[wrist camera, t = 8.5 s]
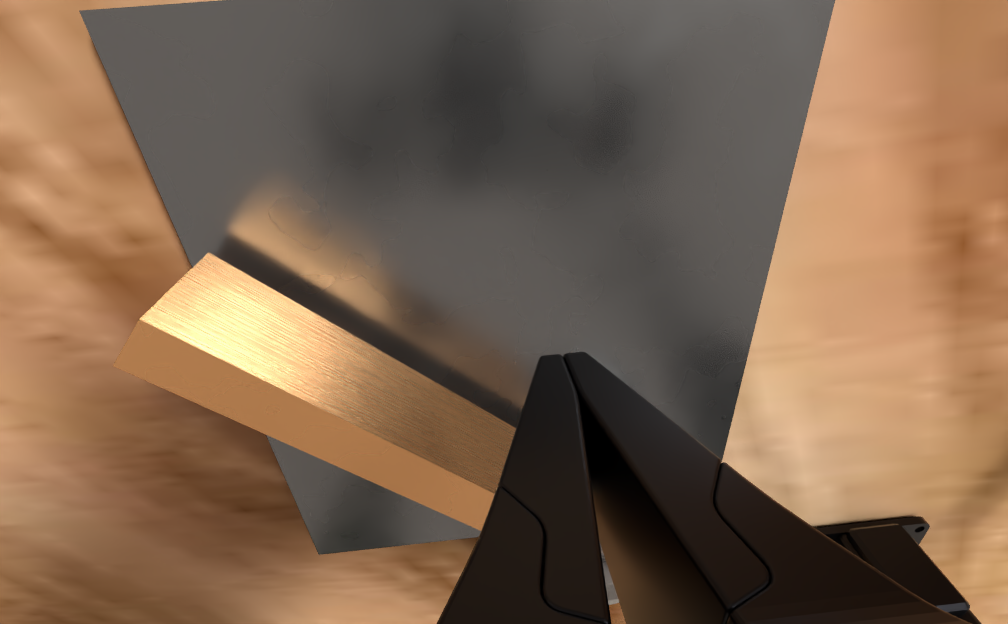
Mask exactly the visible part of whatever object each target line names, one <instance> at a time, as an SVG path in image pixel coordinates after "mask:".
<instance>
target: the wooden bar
mask: <svg viewBox="0 0 1008 624" xmlns="http://www.w3.org/2000/svg"><path fill="white" fill-rule="evenodd" d="M113 366H114V367H116V368H118V369H121V370H123V371H125V372H127V373H129V374H132V375H134V376H136V377H138V378H141V379H143V380H145V381H147V382H150V383H152V384H154V385H156V386H159V387H161V388H163V389H165V390H167V391H170V392H172V393H174V394H176V395H179V396H181V397H183V398H185V399H188V400H190V401H192V402H194V403H196V404H199V405H201V406H203V407H205V408H208V409H210V410H212V411H214V412H217V413H219V414H221V415H223V416H226V417H228V418H230V419H232V420H234V421H237V422H239V423H241V424H243V425H246V426H248V427H250V428H252V429H255V430H257V431H259V432H261V433H263V434H266V435H268V436H270V437H272V438H275V439H277V440H279V441H281V442H284V443H286V444H288V445H290V446H293V447H295V448H297V449H299V450H301V451H304V452H306V453H308V454H310V455H313V456H315V457H317V458H319V459H322V460H324V461H326V462H328V463H330V464H333V465H335V466H337V467H339V468H342V469H344V470H346V471H348V472H351V473H353V474H355V475H357V476H360V477H362V478H364V479H366V480H368V481H371V482H373V483H375V484H377V485H380V486H382V487H384V488H386V489H389V490H391V491H393V492H395V493H397V494H400V495H402V496H404V497H406V498H409V499H411V500H413V501H415V502H418V503H420V504H422V505H424V506H427V507H429V508H431V509H433V510H435V511H438V512H440V513H442V514H444V515H447V516H449V517H451V518H453V519H456V520H458V521H460V522H462V523H465V524H467V525H469V526H471V527H473V528H476V529H478V530H480V531H481V530H482V527H483V524H484V522H485V519H486V516H487V514H488V511H489V508H490V506H491V503H492V499H493V496H494V493H495V490H496V488H497V487H498V482H499V479H500V476H501V473H502V470H503V467H504V464H505V461H506V458H507V455H508V452H509V449H510V445H511V442H512V439H513V436H514V433H515V430H516V428H515V427H513V426H511V425H509V424H508V423H506V422H504V421H503V420H501V419H499V418H497V417H496V416H494V415H492V414H490V413H489V412H487V411H485V410H483V409H482V408H480V407H478V406H476V405H475V404H473V403H471V402H469V401H468V400H466V399H464V398H462V397H461V396H459V395H457V394H455V393H454V392H452V391H450V390H448V389H447V388H445V387H443V386H441V385H440V384H438V383H436V382H434V381H433V380H431V379H429V378H427V377H426V376H424V375H422V374H420V373H419V372H417V371H415V370H413V369H412V368H410V367H408V366H406V365H405V364H403V363H401V362H399V361H398V360H396V359H394V358H392V357H391V356H389V355H387V354H385V353H384V352H382V351H380V350H378V349H377V348H375V347H373V346H371V345H370V344H368V343H366V342H365V341H363V340H361V339H359V338H358V337H356V336H354V335H352V334H351V333H349V332H347V331H345V330H344V329H342V328H340V327H338V326H337V325H335V324H333V323H331V322H330V321H328V320H326V319H324V318H323V317H321V316H319V315H317V314H316V313H314V312H312V311H310V310H309V309H307V308H305V307H303V306H302V305H300V304H298V303H296V302H295V301H293V300H291V299H289V298H288V297H286V296H284V295H282V294H281V293H279V292H277V291H275V290H274V289H272V288H270V287H268V286H267V285H265V284H263V283H261V282H260V281H258V280H256V279H254V278H253V277H251V276H249V275H247V274H246V273H244V272H242V271H240V270H239V269H237V268H235V267H233V266H232V265H230V264H228V263H227V262H225V261H223V260H221V259H220V258H218V257H216V256H214V255H213V254H211V253H209V252H208V253H207V254H206V255H205V256H204V257H203V258H202V259H201V260H200V261H199V262H198V263H197V264H196V265H195V266H194V267H193V268H192V269H191V270H190V271H189V272H188V273H187V274H186V275H185V276H184V277H183V278H182V279H181V280H179V281H178V282H177V283H176V284H175V285H174V286H173V287H172V288H171V289H170V290H169V291H168V292H167V293H166V294H165V295H164V296H163V297H162V298H161V299H160V300H159V301H158V302H157V303H156V304H155V305H154V306H153V307H152V308H150V309H149V310H148V311H147V312H146V313H145V314H144V315H143V316H142V317H141V318H140V319H139V321H138V323H137V324H136V326H135V328H134V330H133V331H132V333H131V335H130V337H129V338H128V340H127V342H126V344H125V345H124V347H123V349H122V351H121V352H120V354H119V356H118V358H117V359H116V361H115V363H114V365H113ZM600 548H601V555H602V562H603V569H604V576H605V583H606V590H607V597H608V604H609V605H610V604H615V603H619V600H618V596H617V593H616V590H615V587H614V584H613V581H612V578H611V575H610V572H609V569H608V566H607V563H606V560H605V557H604V554H603V550H602V547H601V544H600Z"/></svg>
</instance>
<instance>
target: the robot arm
mask: <svg viewBox="0 0 1008 624" xmlns="http://www.w3.org/2000/svg"><path fill="white" fill-rule="evenodd" d="M929 527H930V526H929V524H928V523H927V522H926V521H925V520H924V518H922V517H909V518H900V519H891V520H883V521H874V522H865V523H856V524H847V525H838V526H829V527H821V528H814V527H812V526H811V525H809V524H808V523H806V522H805V521H803V520H802V519H801V518H799V517H798V516H796V515H795V514H793V513H792V512H790V511H789V510H788V509H786V508H785V507H783V506H782V505H780V504H779V503H777V502H776V501H775V500H773V499H772V498H771V497H769V496H768V495H767V494H765V493H764V492H763V491H761V490H760V489H759V488H757V487H756V486H755V485H753V484H752V483H751V482H749V481H748V480H747V479H746V478H744V477H743V476H742V475H740V474H739V473H738V472H737V471H735V470H734V469H733V468H732V467H730V466H729V465H728V464H727V463H724V462H723V463H721V459H720V458H719V457H717V456H716V455H715V454H714V453H712V452H711V451H710V450H709V449H707V448H706V447H705V446H704V445H702V444H701V443H700V442H699V441H697V440H696V439H695V438H694V437H692V436H691V435H690V434H688V433H687V432H686V431H685V430H683V429H682V428H681V427H680V426H678V425H677V424H676V423H675V422H673V421H672V420H671V419H670V418H668V417H667V416H666V415H665V414H663V413H662V412H661V411H660V410H658V409H657V408H656V407H654V406H653V405H652V404H651V403H649V402H648V401H647V400H646V399H644V398H643V397H642V396H641V395H639V394H638V393H637V392H636V391H634V390H633V389H632V388H631V387H629V386H628V385H627V384H626V383H624V382H623V381H622V380H620V379H619V378H618V377H617V376H615V375H614V374H613V373H612V372H610V371H609V370H608V369H607V368H605V367H604V366H603V365H602V364H600V363H599V362H598V361H597V360H595V359H594V358H593V357H592V356H590V355H589V354H588V353H586V352H573V353H565V354H564V355H563V356H562V355H560V354H553V355H543V356H541V357H540V358H539V360H538V363H537V366H536V369H535V372H534V375H533V378H532V381H531V384H530V387H529V390H528V394H527V397H526V400H525V403H524V406H523V409H522V412H521V415H520V418H519V421H518V424H517V427H516V430H515V433H514V436H513V439H512V442H511V445H510V449H509V452H508V455H507V458H506V461H505V464H504V467H503V470H502V473H501V476H500V479H499V482H498V487H497V488H496V490H495V493H494V496H493V499H492V503H491V506H490V508H489V511H488V514H487V516H486V519H485V522H484V524H483V527H482V530H481V532H480V535H479V537H478V539H477V542H476V544H475V546H474V548H473V550H472V553H471V555H470V557H469V559H468V561H467V564H466V566H465V568H464V570H463V572H462V574H461V576H460V578H459V580H458V582H457V584H456V586H455V588H454V590H453V592H452V594H451V596H450V598H449V600H448V602H447V604H446V606H445V608H444V610H443V612H442V614H441V616H440V618H439V620H438V622H437V624H611V618H610V611H609V604H608V597H607V590H606V583H605V576H604V569H603V562H602V555H601V548H600V544H601V547H602V550H603V554H604V557H605V560H606V563H607V566H608V569H609V572H610V575H611V578H612V581H613V584H614V587H615V590H616V593H617V596H618V600H619V603H620V606H621V609H622V612H623V615H624V618H625V621H626V624H981V622H980V621H979V620H978V619H977V618H976V617H975V615H974V614H973V613H972V612H971V611H970V610H969V608H970V605H969V603H968V602H967V600H966V599H965V598H964V597H963V596H962V595H961V593H960V592H959V591H958V590H957V589H956V588H955V586H954V585H953V584H952V583H951V582H950V581H949V580H948V578H947V577H946V576H945V575H944V574H943V573H942V571H941V570H940V569H939V568H938V567H937V566H936V564H935V563H934V562H933V561H932V560H931V559H930V557H929V556H928V555H927V554H926V553H925V552H924V551H923V549H922V548H921V547H920V546H919V544H920V542H921V540H922V539H923V537H924V536H925V534H926V532H927V531H928V529H929Z"/></svg>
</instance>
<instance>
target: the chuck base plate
mask: <svg viewBox="0 0 1008 624" xmlns="http://www.w3.org/2000/svg"><path fill="white" fill-rule="evenodd" d="M834 3H835V0H222V1H208V2H195V3H181V4H167V5H153V6H139V7H125V8H111V9H97V10H83V11H80V14H81V16H82V18H83V21H84V23H85V25H86V27H87V30H88V32H89V34H90V36H91V39H92V41H93V43H94V45H95V48H96V50H97V52H98V55H99V57H100V59H101V61H102V64H103V66H104V68H105V70H106V73H107V75H108V77H109V80H110V82H111V84H112V86H113V89H114V91H115V93H116V95H117V98H118V100H119V102H120V104H121V107H122V109H123V111H124V114H125V116H126V118H127V120H128V123H129V125H130V127H131V129H132V132H133V134H134V136H135V139H136V141H137V143H138V145H139V148H140V150H141V152H142V154H143V157H144V159H145V161H146V163H147V166H148V168H149V170H150V173H151V175H152V177H153V179H154V182H155V184H156V186H157V188H158V191H159V193H160V195H161V198H162V200H163V202H164V204H165V207H166V209H167V211H168V213H169V216H170V218H171V220H172V222H173V225H174V227H175V229H176V232H177V234H178V236H179V238H180V241H181V243H182V245H183V247H184V250H185V252H186V254H187V257H188V259H189V261H190V263H191V266H192V268H193V267H194V266H195V265H196V264H197V263H198V262H199V261H200V260H201V259H202V258H203V257H204V256H205V255H206V254H207V253H208V252H209V253H211V254H213V255H214V256H216V257H218V258H220V259H221V260H223V261H225V262H227V263H228V264H230V265H232V266H233V267H235V268H237V269H239V270H240V271H242V272H244V273H246V274H247V275H249V276H251V277H253V278H254V279H256V280H258V281H260V282H261V283H263V284H265V285H267V286H268V287H270V288H272V289H274V290H275V291H277V292H279V293H281V294H282V295H284V296H286V297H288V298H289V299H291V300H293V301H295V302H296V303H298V304H300V305H302V306H303V307H305V308H307V309H309V310H310V311H312V312H314V313H316V314H317V315H319V316H321V317H323V318H324V319H326V320H328V321H330V322H331V323H333V324H335V325H337V326H338V327H340V328H342V329H344V330H345V331H347V332H349V333H351V334H352V335H354V336H356V337H358V338H359V339H361V340H363V341H365V342H366V343H368V344H370V345H371V346H373V347H375V348H377V349H378V350H380V351H382V352H384V353H385V354H387V355H389V356H391V357H392V358H394V359H396V360H398V361H399V362H401V363H403V364H405V365H406V366H408V367H410V368H412V369H413V370H415V371H417V372H419V373H420V374H422V375H424V376H426V377H427V378H429V379H431V380H433V381H434V382H436V383H438V384H440V385H441V386H443V387H445V388H447V389H448V390H450V391H452V392H454V393H455V394H457V395H459V396H461V397H462V398H464V399H466V400H468V401H469V402H471V403H473V404H475V405H476V406H478V407H480V408H482V409H483V410H485V411H487V412H489V413H490V414H492V415H494V416H496V417H497V418H499V419H501V420H503V421H504V422H506V423H508V424H509V425H511V426H513V427H515V428H516V427H517V424H518V421H519V418H520V415H521V412H522V409H523V406H524V403H525V400H526V397H527V394H528V390H529V387H530V384H531V381H532V378H533V375H534V372H535V369H536V366H537V363H538V360H539V358H540V357H541V356H543V355H553V354H560V355H562V356H563V355H564V354H565V353H573V352H586V353H588V354H589V355H590V356H592V357H593V358H594V359H595V360H597V361H598V362H599V363H600V364H602V365H603V366H604V367H605V368H607V369H608V370H609V371H610V372H612V373H613V374H614V375H615V376H617V377H618V378H619V379H620V380H622V381H623V382H624V383H626V384H627V385H628V386H629V387H631V388H632V389H633V390H634V391H636V392H637V393H638V394H639V395H641V396H642V397H643V398H644V399H646V400H647V401H648V402H649V403H651V404H652V405H653V406H654V407H656V408H657V409H658V410H660V411H661V412H662V413H663V414H665V415H666V416H667V417H668V418H670V419H671V420H672V421H673V422H675V423H676V424H677V425H678V426H680V427H681V428H682V429H683V430H685V431H686V432H687V433H688V434H690V435H691V436H692V437H694V438H695V439H696V440H697V441H699V442H700V443H701V444H702V445H704V446H705V447H706V448H707V449H709V450H710V451H711V452H712V453H714V454H715V455H716V456H717V457H719V458H720V459H721V462H722V458H723V454H724V450H725V446H726V442H727V438H728V434H729V430H730V426H731V422H732V418H733V414H734V410H735V405H736V401H737V397H738V393H739V389H740V385H741V381H742V377H743V373H744V369H745V365H746V361H747V357H748V353H749V348H750V344H751V340H752V336H753V332H754V328H755V324H756V320H757V316H758V312H759V308H760V304H761V300H762V296H763V292H764V287H765V283H766V279H767V275H768V271H769V267H770V263H771V259H772V255H773V251H774V247H775V243H776V239H777V235H778V230H779V226H780V222H781V218H782V214H783V210H784V206H785V202H786V198H787V194H788V190H789V186H790V182H791V178H792V174H793V169H794V165H795V161H796V157H797V153H798V149H799V145H800V141H801V137H802V133H803V129H804V125H805V121H806V117H807V112H808V108H809V104H810V100H811V96H812V92H813V88H814V84H815V80H816V76H817V72H818V68H819V64H820V60H821V56H822V51H823V47H824V43H825V39H826V35H827V31H828V27H829V23H830V19H831V15H832V11H833V7H834ZM266 436H267V438H268V440H269V443H270V445H271V447H272V449H273V452H274V454H275V456H276V459H277V461H278V463H279V465H280V468H281V470H282V472H283V474H284V477H285V479H286V481H287V483H288V486H289V488H290V490H291V493H292V495H293V497H294V499H295V502H296V504H297V506H298V508H299V511H300V513H301V515H302V518H303V520H304V522H305V524H306V527H307V529H308V531H309V533H310V536H311V538H312V540H313V542H314V545H315V547H316V549H317V552H318V554H319V555H320V554H329V553H338V552H347V551H356V550H365V549H374V548H383V547H392V546H401V545H410V544H419V543H428V542H437V541H446V540H455V539H464V538H473V537H479V535H480V532H481V531H480V530H478V529H476V528H473V527H471V526H469V525H467V524H465V523H462V522H460V521H458V520H456V519H453V518H451V517H449V516H447V515H444V514H442V513H440V512H438V511H435V510H433V509H431V508H429V507H427V506H424V505H422V504H420V503H418V502H415V501H413V500H411V499H409V498H406V497H404V496H402V495H400V494H397V493H395V492H393V491H391V490H389V489H386V488H384V487H382V486H380V485H377V484H375V483H373V482H371V481H368V480H366V479H364V478H362V477H360V476H357V475H355V474H353V473H351V472H348V471H346V470H344V469H342V468H339V467H337V466H335V465H333V464H330V463H328V462H326V461H324V460H322V459H319V458H317V457H315V456H313V455H310V454H308V453H306V452H304V451H301V450H299V449H297V448H295V447H293V446H290V445H288V444H286V443H284V442H281V441H279V440H277V439H275V438H272V437H270V436H268V435H266Z"/></svg>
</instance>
